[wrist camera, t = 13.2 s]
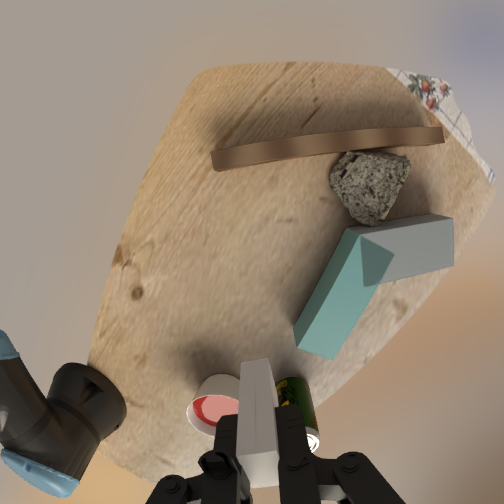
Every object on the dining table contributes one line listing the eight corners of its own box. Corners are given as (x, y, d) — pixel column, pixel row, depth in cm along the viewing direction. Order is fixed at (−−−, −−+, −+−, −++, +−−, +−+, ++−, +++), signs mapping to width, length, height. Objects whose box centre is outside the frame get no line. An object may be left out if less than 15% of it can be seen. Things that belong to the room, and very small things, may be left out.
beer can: (314, 378, 40) (329, 436, 28) (298, 402, 41) (307, 460, 29) (281, 369, 39) (287, 428, 28) (267, 394, 40) (268, 453, 29)
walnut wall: (219, 171, 33) (213, 170, 30) (216, 155, 33) (210, 151, 29) (428, 145, 32) (444, 142, 28) (426, 131, 31) (441, 127, 27)
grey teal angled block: (295, 346, 38) (299, 366, 33) (278, 239, 35) (281, 248, 30) (432, 313, 37) (449, 327, 32) (432, 213, 33) (453, 218, 29)
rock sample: (338, 122, 28) (403, 163, 24) (372, 131, 33) (426, 168, 28) (304, 199, 35) (355, 246, 30) (340, 196, 39) (386, 236, 34)
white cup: (188, 399, 41) (180, 426, 35) (204, 359, 39) (195, 385, 33) (242, 416, 42) (239, 444, 36) (262, 378, 40) (263, 406, 34)
